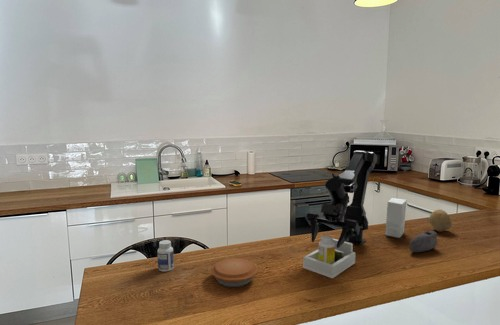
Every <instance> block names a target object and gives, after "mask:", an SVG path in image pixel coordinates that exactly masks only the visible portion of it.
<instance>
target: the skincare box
mask: <svg viewBox="0 0 500 325" xmlns="http://www.w3.org/2000/svg"><path fill="white" fill-rule="evenodd" d="M386 209H387V210H386V221H385V236H387V237H393V238H398V239H401V237H402V236H403V235H404V233H405V221H406V210H407V199H405V198H404V199H403V198H397V197H396V198H395V197H391V198H390V199H389V200H388V201H387V207H386Z"/></svg>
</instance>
